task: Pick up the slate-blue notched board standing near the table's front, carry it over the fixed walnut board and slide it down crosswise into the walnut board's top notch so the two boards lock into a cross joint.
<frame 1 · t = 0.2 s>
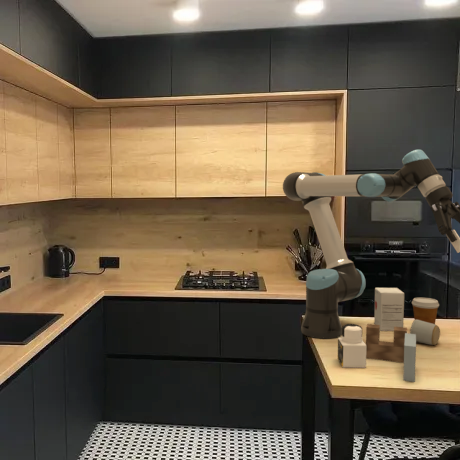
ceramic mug: (425, 342, 158), on the table
walnut stand: (385, 358, 143), on the table
disposable coffee cup: (424, 331, 170), on the table
medicine bottle: (351, 364, 138), on the table
slate plate: (409, 373, 131), on the table
supplement box: (388, 328, 175), on the table
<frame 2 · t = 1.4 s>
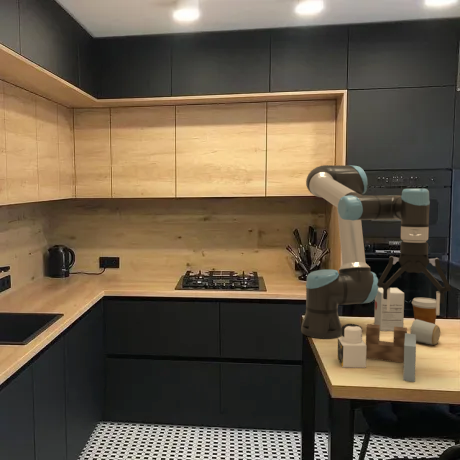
hand: (412, 312, 134), 17 cm above the table, tool pointing down, fingers open, 13 cm apart
nothing on the table moved.
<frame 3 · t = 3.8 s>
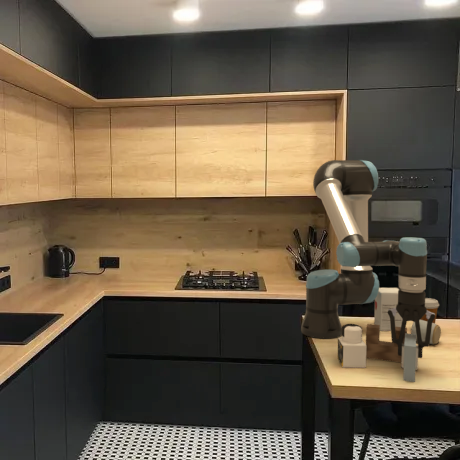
hand: (409, 366, 135), 0 cm above the table, tool pointing down, fingers closed on slate plate, 3 cm apart
slate plate: (409, 373, 131), on the table, touching gripper
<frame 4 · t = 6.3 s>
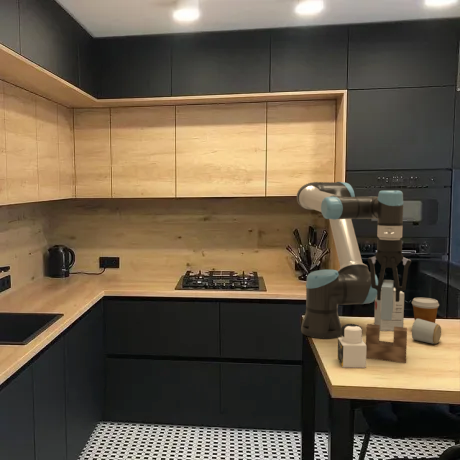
hand: (387, 310, 145), 14 cm above the table, tool pointing down, fingers closed on slate plate, 3 cm apart
slate plate: (387, 314, 141), point 14 cm above the table, touching gripper
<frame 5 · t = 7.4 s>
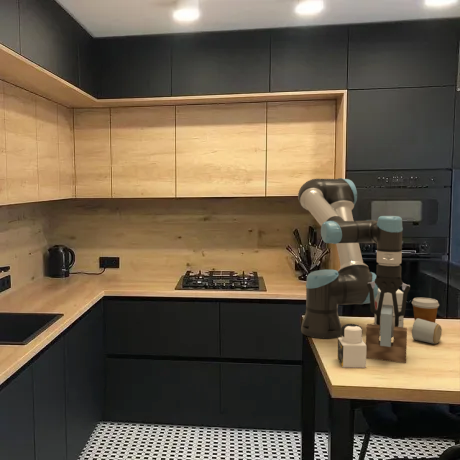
hand: (387, 335, 146), 6 cm above the table, tool pointing down, fingers closed on slate plate, 3 cm apart
slate plate: (386, 340, 142), point 6 cm above the table, touching gripper
when the fingers open (1 cm above the table, at t = 8.6 s): slate plate stays where it is, on the table.
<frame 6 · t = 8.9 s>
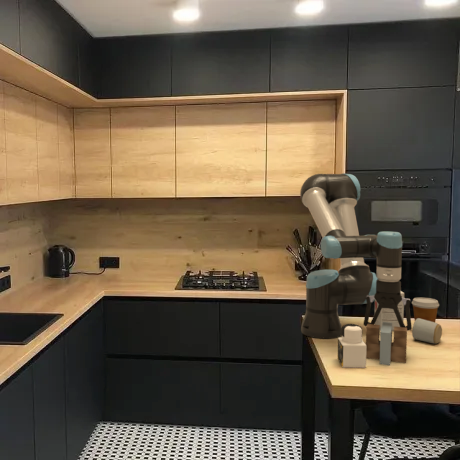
hand: (386, 348, 147), 2 cm above the table, tool pointing down, fingers open, 7 cm apart
slate plate: (385, 358, 143), on the table
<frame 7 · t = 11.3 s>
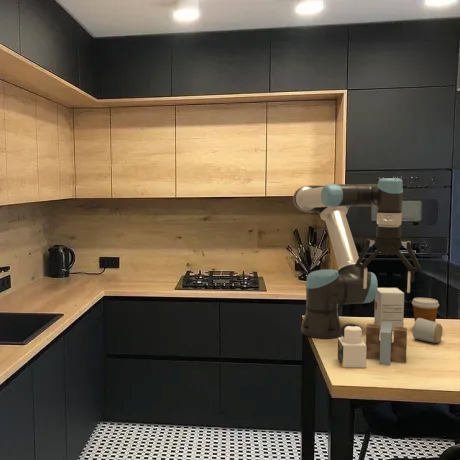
hand: (386, 289, 148), 20 cm above the table, tool pointing down, fingers open, 13 cm apart
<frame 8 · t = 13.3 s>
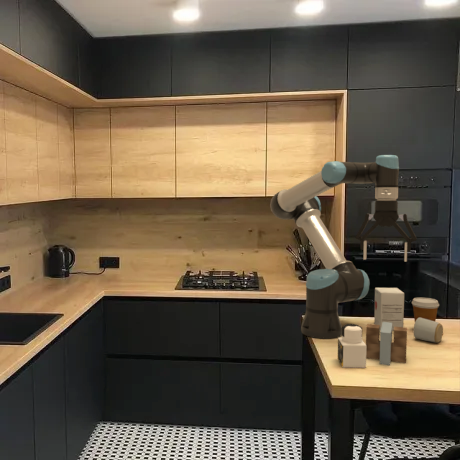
hand: (384, 260, 159), 29 cm above the table, tool pointing down, fingers open, 13 cm apart
at the end: slate plate 0.2 cm off-centre on the walnut stand, point 0.0 cm above the walnut stand's base; slate plate tilted 0°; the gripper is holding nothing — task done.
